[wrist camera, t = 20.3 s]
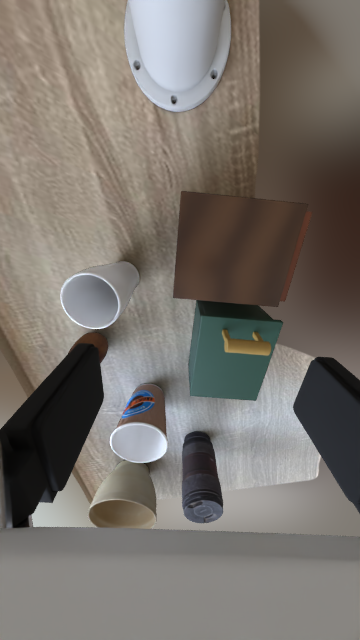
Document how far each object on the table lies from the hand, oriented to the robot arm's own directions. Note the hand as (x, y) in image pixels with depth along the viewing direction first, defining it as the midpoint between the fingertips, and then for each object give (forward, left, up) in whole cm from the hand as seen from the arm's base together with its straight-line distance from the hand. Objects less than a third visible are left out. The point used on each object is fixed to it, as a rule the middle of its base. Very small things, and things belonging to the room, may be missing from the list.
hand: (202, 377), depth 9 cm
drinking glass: (+2, -11, -29) cm, 31 cm away
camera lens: (+43, +7, -29) cm, 52 cm away
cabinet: (-4, +5, -29) cm, 30 cm away
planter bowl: (+57, -10, -29) cm, 65 cm away
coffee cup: (+29, -6, -29) cm, 41 cm away
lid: (+12, +8, -20) cm, 25 cm away
